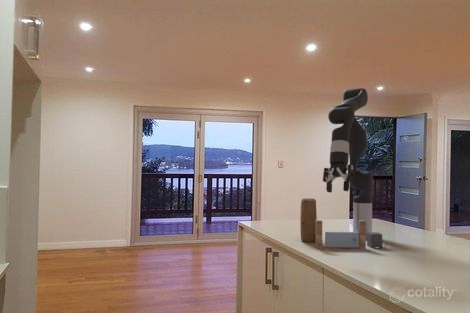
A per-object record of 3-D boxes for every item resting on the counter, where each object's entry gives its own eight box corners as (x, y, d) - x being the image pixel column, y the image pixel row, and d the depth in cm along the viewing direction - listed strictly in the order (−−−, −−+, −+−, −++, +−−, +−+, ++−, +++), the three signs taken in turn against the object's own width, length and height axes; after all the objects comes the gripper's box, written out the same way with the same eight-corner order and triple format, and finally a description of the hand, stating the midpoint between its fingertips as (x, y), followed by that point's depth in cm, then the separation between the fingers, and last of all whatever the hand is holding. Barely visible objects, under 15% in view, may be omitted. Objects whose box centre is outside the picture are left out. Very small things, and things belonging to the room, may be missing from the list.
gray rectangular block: (367, 245, 175) (367, 232, 175) (378, 245, 175) (377, 232, 175) (371, 248, 170) (371, 234, 170) (382, 248, 170) (382, 234, 170)
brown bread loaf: (317, 242, 180) (317, 199, 180) (300, 242, 181) (300, 199, 181) (315, 238, 191) (315, 197, 191) (300, 237, 192) (300, 197, 192)
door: (325, 246, 170) (325, 231, 170) (357, 246, 170) (357, 231, 170) (326, 247, 167) (326, 232, 167) (359, 248, 167) (360, 233, 167)
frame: (315, 247, 170) (315, 220, 170) (363, 247, 170) (363, 220, 171) (316, 248, 168) (316, 220, 168) (365, 248, 168) (365, 221, 168)
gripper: (359, 152, 156) (357, 192, 152) (332, 157, 168) (330, 194, 164) (347, 148, 152) (345, 188, 148) (320, 153, 164) (317, 191, 160)
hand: (337, 191), depth 156 cm, fingers open, 8 cm apart
